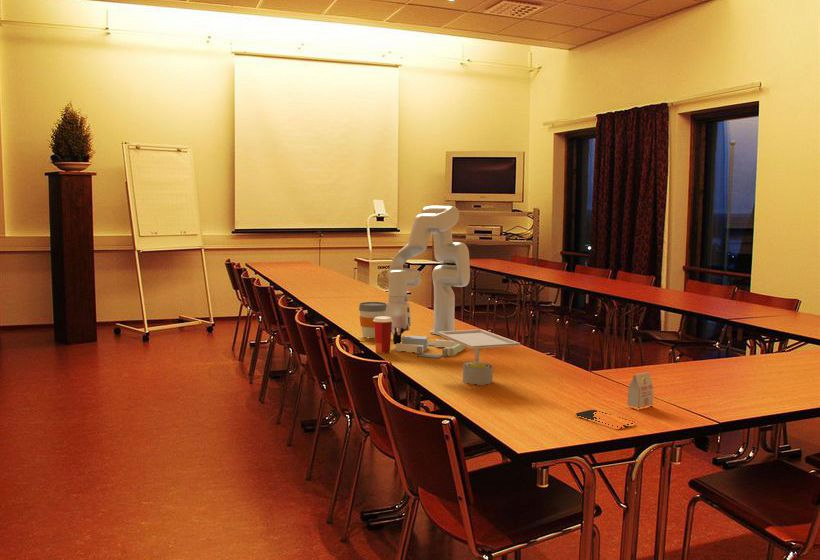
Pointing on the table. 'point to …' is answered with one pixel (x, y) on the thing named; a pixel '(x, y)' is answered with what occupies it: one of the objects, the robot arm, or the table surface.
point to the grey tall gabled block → (640, 391)
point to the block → (415, 340)
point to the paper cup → (382, 333)
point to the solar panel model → (477, 352)
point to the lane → (449, 349)
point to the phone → (590, 415)
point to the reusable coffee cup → (370, 316)
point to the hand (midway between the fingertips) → (397, 343)
